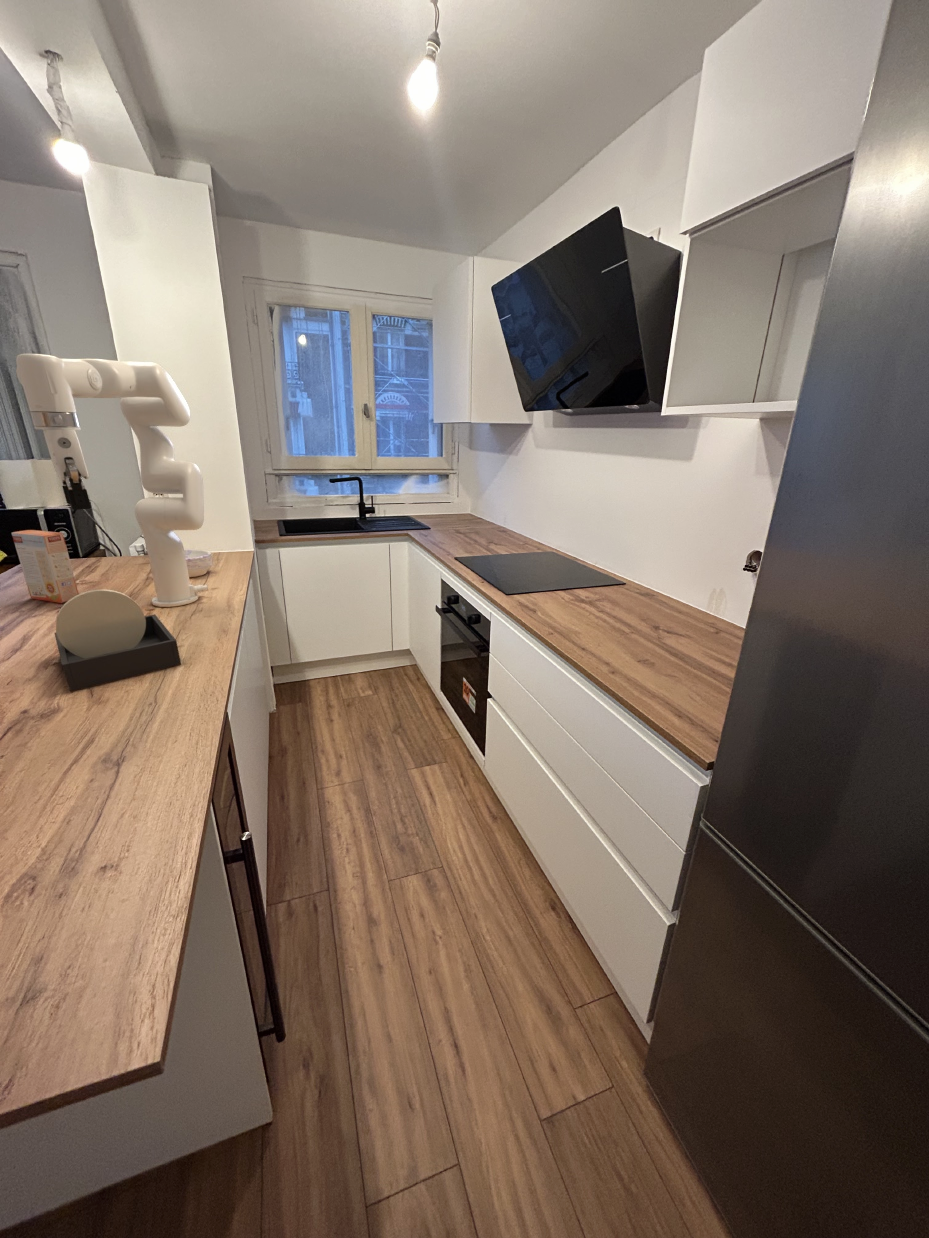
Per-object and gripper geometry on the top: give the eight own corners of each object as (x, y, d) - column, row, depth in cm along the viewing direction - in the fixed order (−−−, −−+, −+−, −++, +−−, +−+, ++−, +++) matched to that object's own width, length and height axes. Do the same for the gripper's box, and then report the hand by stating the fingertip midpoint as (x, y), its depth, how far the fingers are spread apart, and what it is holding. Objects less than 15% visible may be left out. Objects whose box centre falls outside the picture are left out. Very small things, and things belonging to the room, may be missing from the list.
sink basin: (159, 636, 125) (155, 614, 123) (181, 664, 110) (176, 640, 107) (61, 656, 112) (54, 632, 110) (70, 692, 97) (62, 665, 95)
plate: (156, 640, 116) (126, 578, 108) (157, 641, 115) (127, 579, 107) (78, 670, 107) (39, 606, 99) (78, 672, 106) (39, 607, 99)
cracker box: (81, 598, 152) (63, 532, 145) (61, 604, 147) (41, 535, 139) (51, 593, 156) (32, 528, 149) (30, 598, 151) (9, 531, 144)
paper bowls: (201, 580, 173) (197, 558, 171) (159, 579, 174) (154, 557, 171) (221, 569, 188) (218, 549, 185) (182, 569, 188) (179, 548, 185)
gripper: (84, 423, 96) (106, 509, 103) (74, 422, 108) (93, 500, 115) (35, 422, 92) (61, 513, 98) (30, 421, 104) (53, 502, 110)
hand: (78, 506), depth 106 cm, fingers open, 9 cm apart
